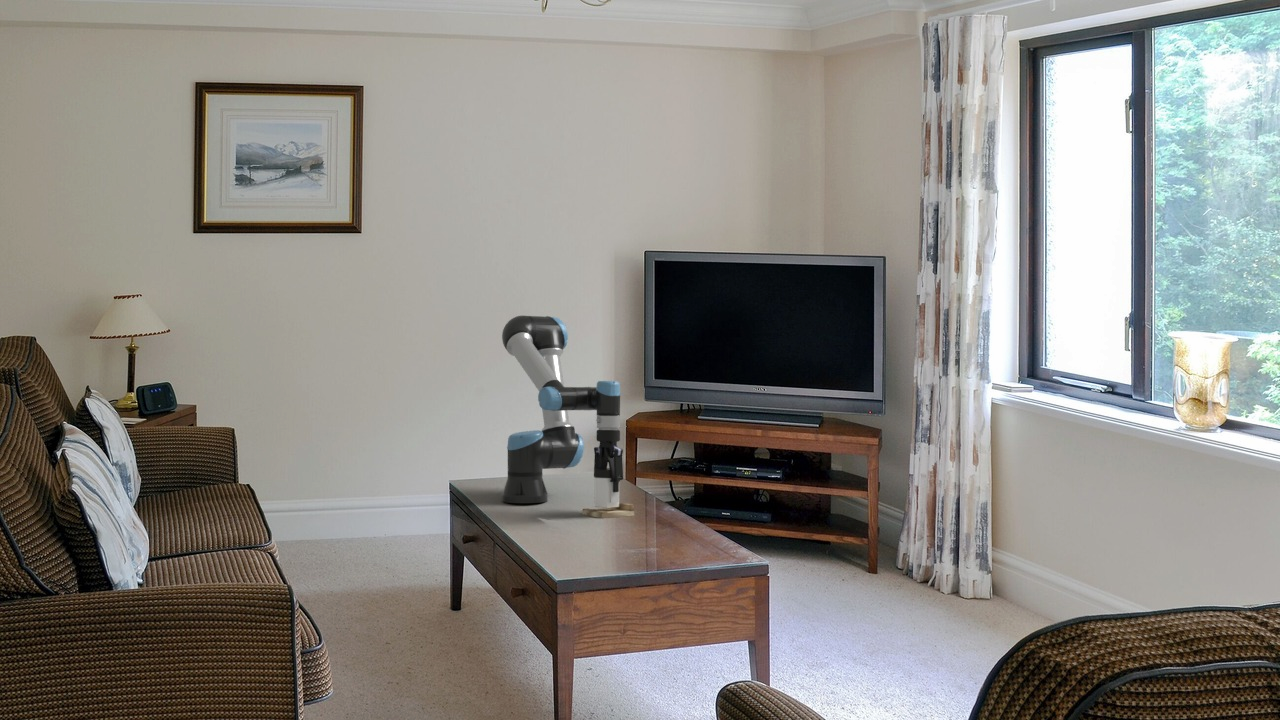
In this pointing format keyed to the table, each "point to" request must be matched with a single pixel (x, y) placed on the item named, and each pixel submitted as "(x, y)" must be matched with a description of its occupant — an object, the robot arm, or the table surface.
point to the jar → (603, 489)
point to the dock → (611, 511)
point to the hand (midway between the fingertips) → (608, 501)
